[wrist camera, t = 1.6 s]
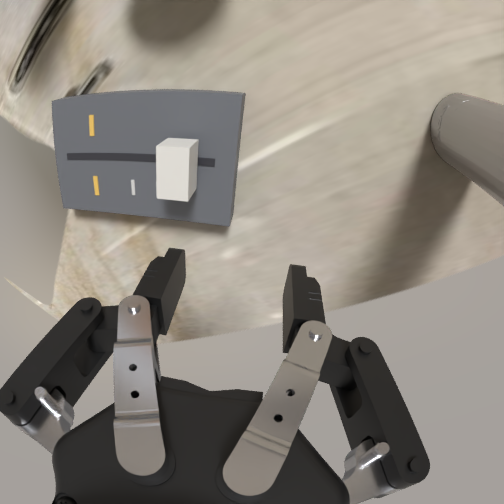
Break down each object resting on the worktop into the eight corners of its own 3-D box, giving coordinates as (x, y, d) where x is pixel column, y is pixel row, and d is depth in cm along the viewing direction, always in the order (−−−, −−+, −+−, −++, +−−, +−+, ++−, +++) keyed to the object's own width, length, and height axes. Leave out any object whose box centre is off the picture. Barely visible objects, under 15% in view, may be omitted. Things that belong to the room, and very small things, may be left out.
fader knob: (200, 137, 26) (189, 148, 23) (198, 185, 29) (188, 201, 26) (170, 135, 26) (156, 146, 23) (170, 182, 29) (156, 198, 26)
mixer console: (245, 93, 26) (242, 94, 24) (233, 213, 34) (229, 226, 32) (66, 97, 26) (51, 101, 24) (75, 198, 34) (63, 208, 32)
